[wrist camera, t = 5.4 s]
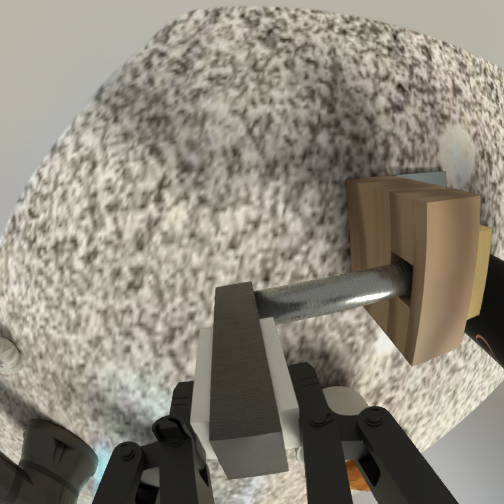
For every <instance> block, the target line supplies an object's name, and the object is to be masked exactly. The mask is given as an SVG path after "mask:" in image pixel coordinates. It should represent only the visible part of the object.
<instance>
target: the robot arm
mask: <svg viewBox="0 0 504 504" xmlns="http://www.w3.org/2000/svg"><path fill="white" fill-rule="evenodd" d="M259 321H260V326H261V331H262V336H263V340H264V345H265V350H266V355H267V360H268V365H269V370H270V374H271V379H272V384H273V389H274V394H275V399H276V403H277V408H278V413H279V418H280V423H281V427H282V432H283V438H284V445H285V450H287V449H292V448H297V447H301V446H302V447H303V453H304V465H305V477H306V489H307V503H308V504H353V501H352V495H351V490H350V484H349V479H348V473H347V468H346V463H345V460H354V462H355V464H356V466H357V467H358V469H359V471H360V473H361V474H362V476H363V478H364V480H365V481H366V483H367V485H368V487H369V488H370V490H371V492H372V493H373V495H374V497H375V499H376V501H377V502H378V504H459V503H458V502H457V501H456V499H455V498H454V497H453V495H452V494H451V493H450V491H449V490H448V489H447V487H446V486H445V485H444V484H443V482H442V481H441V479H440V478H439V477H438V475H437V474H436V473H435V471H434V470H433V469H432V467H431V466H430V465H429V464H428V462H427V461H426V460H425V458H424V457H423V456H422V454H421V453H420V452H419V450H418V449H417V448H416V446H415V445H414V444H413V442H412V441H411V440H410V439H409V437H408V436H407V435H406V433H405V432H404V431H403V429H402V428H401V427H400V425H399V424H398V423H397V422H396V420H395V419H394V418H393V416H392V415H391V414H390V412H389V411H387V410H386V409H385V408H382V407H379V406H371V407H368V408H365V409H364V410H362V411H361V412H360V413H359V415H340V414H337V413H335V412H333V411H332V410H331V409H330V407H329V406H328V403H327V401H326V398H325V396H324V393H323V391H322V388H321V385H320V384H319V380H318V378H317V375H316V373H315V370H314V368H313V367H312V366H311V365H310V364H308V363H307V362H304V363H300V364H295V365H290V366H287V364H286V360H285V357H284V353H283V350H282V346H281V343H280V339H279V336H278V332H277V329H276V325H275V322H274V318H273V317H269V318H264V319H259ZM212 341H213V327H209V328H202V329H200V335H199V343H198V351H197V360H196V369H195V378H194V381H188V382H179V383H178V385H177V386H176V387H175V389H174V391H173V396H172V402H171V408H170V414H169V415H168V416H164V417H161V418H160V419H158V420H157V421H156V422H155V423H154V424H153V426H152V431H153V433H154V434H155V436H156V438H157V439H158V441H157V442H154V443H152V444H148V445H144V446H141V447H140V446H139V445H138V444H137V443H135V442H132V441H128V442H123V443H120V444H119V445H118V446H116V447H115V449H114V450H113V452H112V455H111V457H110V460H109V462H108V465H107V467H106V469H105V472H104V474H103V477H102V479H101V482H100V484H99V487H98V489H97V492H96V494H95V497H94V500H93V502H92V504H214V498H213V492H212V486H211V480H210V473H209V468H208V466H207V464H206V455H207V457H208V459H217V457H216V455H215V453H214V451H213V449H212V447H211V444H210V442H209V417H210V386H211V362H212ZM23 437H24V440H23V447H22V456H21V460H20V462H19V464H18V465H17V464H15V463H14V462H13V461H11V459H9V458H8V457H7V456H6V455H5V454H4V453H2V452H1V451H0V504H76V503H77V499H78V496H79V492H80V490H81V489H82V488H83V486H84V485H85V484H86V482H87V481H88V480H89V478H90V477H91V476H93V475H94V474H95V472H96V469H97V466H98V458H97V456H96V454H95V453H94V452H93V450H92V449H91V448H90V447H89V446H88V445H87V444H85V443H84V442H83V441H82V440H80V439H79V438H78V437H76V436H75V435H73V434H72V433H70V432H68V431H67V430H65V429H63V428H61V427H59V426H57V425H55V424H52V423H50V422H47V421H43V420H31V421H29V422H28V424H27V426H26V428H25V429H24V433H23Z"/></svg>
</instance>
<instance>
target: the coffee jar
mask: <svg viewBox="0 0 504 504" xmlns="http://www.w3.org/2000/svg"><path fill="white" fill-rule="evenodd" d="M464 332H465V333H466V334H467V335H468V336H469V337H471V338H472V339H473V340H474V341H475V342H476V343H477V344H478V345H479V346H480V347H481V348H483V349H484V350H485V351H486V352H487V353H488V354H489V355H490V356H491V357H492V358H493V359H494V360H495V361H496V362H497V363H498V364H500V365H501V366H502V367H503V368H504V261H503V260H501V259H499V258H497V257H495V256H493V255H491V254H490V255H489V263H488V270H487V277H486V283H485V289H484V294H483V299H482V304H481V309H480V313H479V315H477V316H475V317H472V318H470V319H468V320H467V321H466V326H465V330H464Z"/></svg>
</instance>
